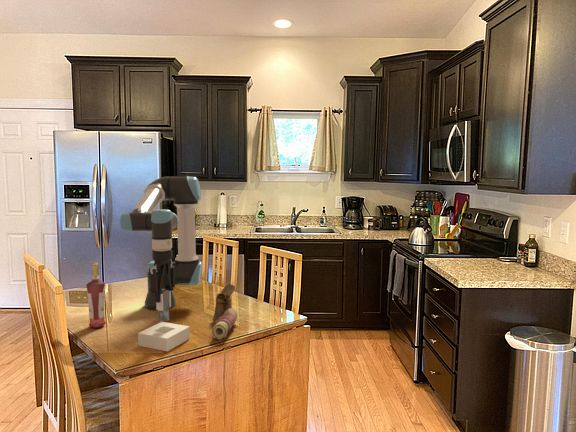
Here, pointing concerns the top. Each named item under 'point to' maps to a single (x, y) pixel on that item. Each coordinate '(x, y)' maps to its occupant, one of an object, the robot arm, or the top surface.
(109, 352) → the top surface
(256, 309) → the top surface
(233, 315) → the scroll
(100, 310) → the liquor
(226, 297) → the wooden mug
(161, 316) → the peg
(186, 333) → the socket
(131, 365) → the top surface
